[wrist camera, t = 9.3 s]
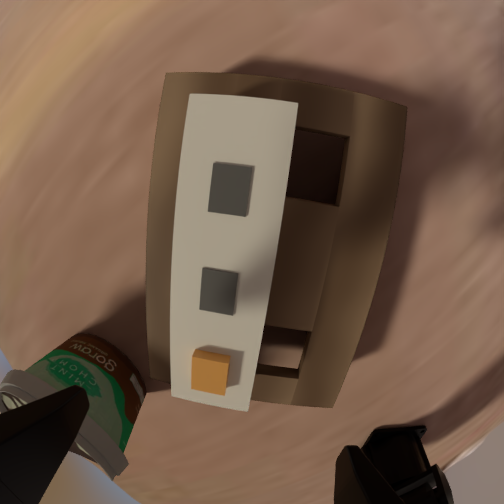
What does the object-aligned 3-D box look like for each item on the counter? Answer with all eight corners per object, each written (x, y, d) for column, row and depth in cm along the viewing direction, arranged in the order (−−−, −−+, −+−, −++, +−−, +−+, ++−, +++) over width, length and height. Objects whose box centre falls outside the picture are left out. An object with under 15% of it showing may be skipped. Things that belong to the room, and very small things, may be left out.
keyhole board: (381, 119, 15) (407, 106, 11) (325, 371, 20) (332, 407, 16) (189, 91, 16) (165, 72, 12) (169, 346, 21) (150, 377, 17)
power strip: (291, 128, 15) (299, 98, 9) (257, 348, 19) (246, 419, 13) (221, 119, 15) (184, 89, 9) (199, 338, 19) (168, 403, 13)
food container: (160, 344, 21) (99, 437, 11) (161, 397, 23) (119, 483, 13) (44, 305, 21) (-28, 357, 12) (55, 357, 23) (-1, 413, 13)
